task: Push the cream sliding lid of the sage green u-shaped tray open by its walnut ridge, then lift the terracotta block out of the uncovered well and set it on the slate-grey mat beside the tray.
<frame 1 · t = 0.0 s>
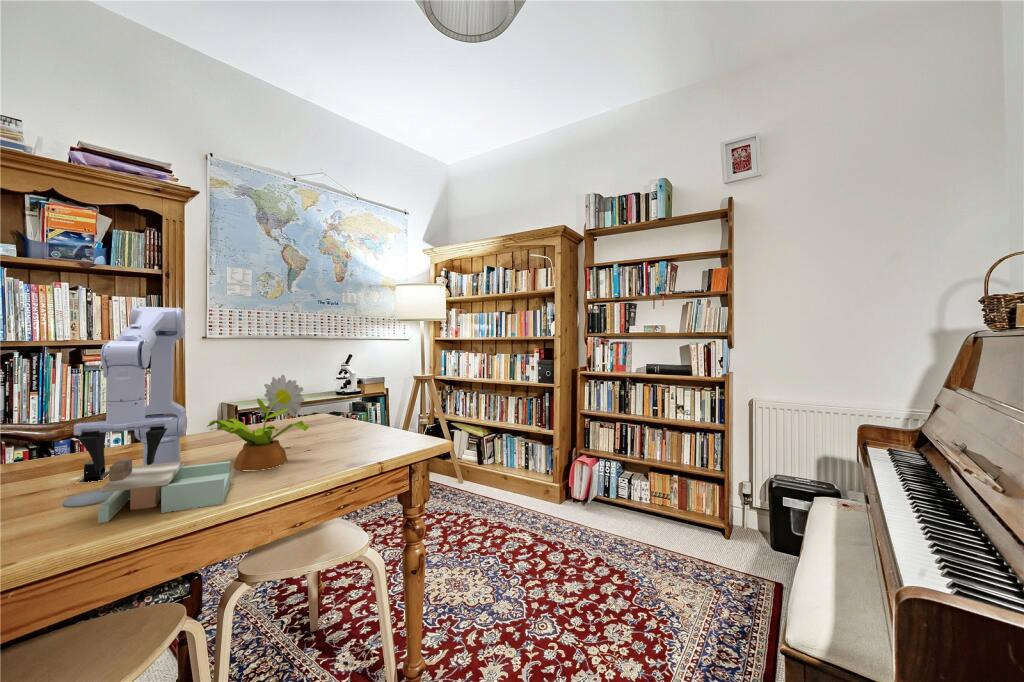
hand: (125, 466, 82), 10 cm above the table, tool pointing down, fingers open, 7 cm apart
black boxy piece: (94, 480, 103), on the table
block: (145, 504, 88), resting in sage green u-shaped tray
lid: (146, 468, 88), point 8 cm above the table, slide at 0.0 cm
decorative plant: (255, 465, 115), on the table
mat: (92, 498, 90), on the table
sage green u-shaped tray: (172, 500, 90), on the table
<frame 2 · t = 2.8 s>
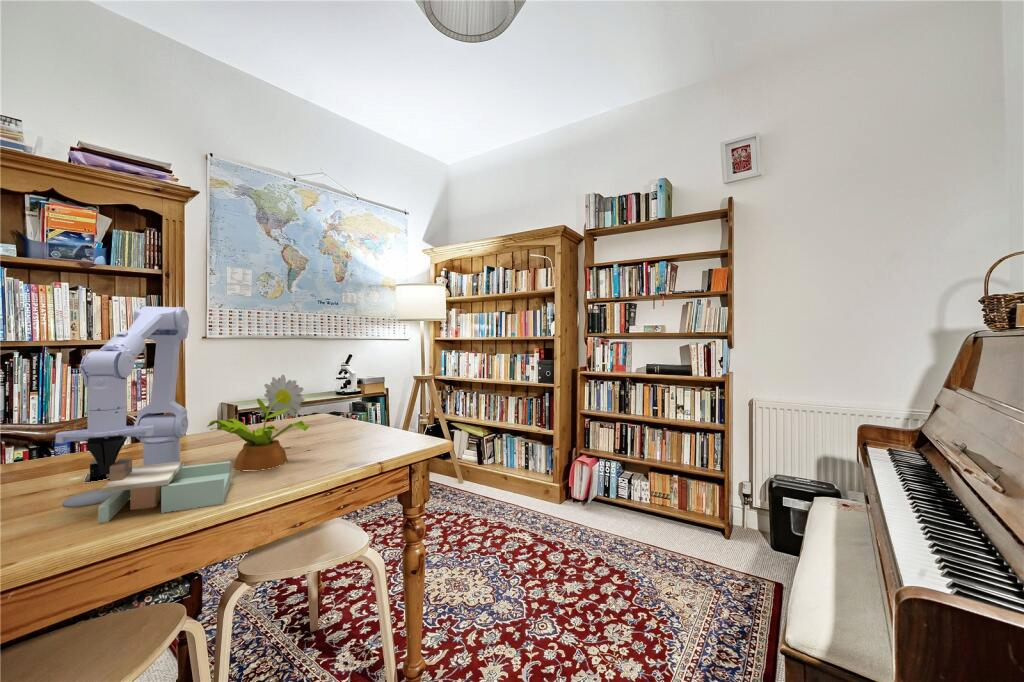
hand: (107, 473, 84), 8 cm above the table, tool pointing down, fingers closed
lid: (146, 468, 88), point 8 cm above the table, slide at 0.0 cm, touching gripper
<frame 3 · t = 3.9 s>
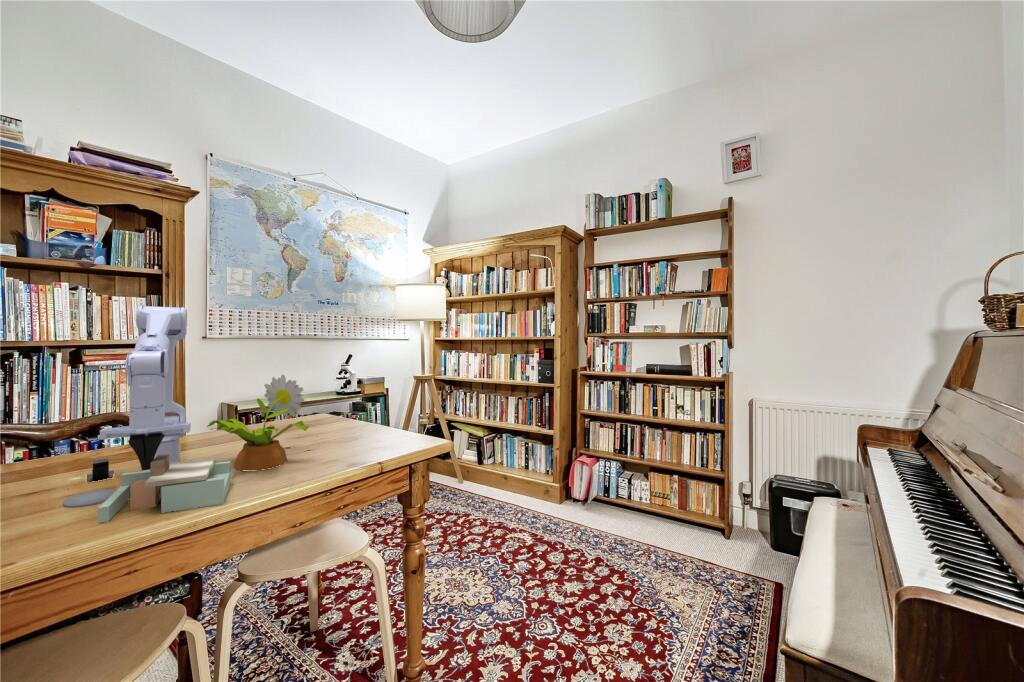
hand: (147, 468, 88), 8 cm above the table, tool pointing down, fingers closed
lid: (183, 464, 91), point 8 cm above the table, slide at 6.4 cm, touching gripper
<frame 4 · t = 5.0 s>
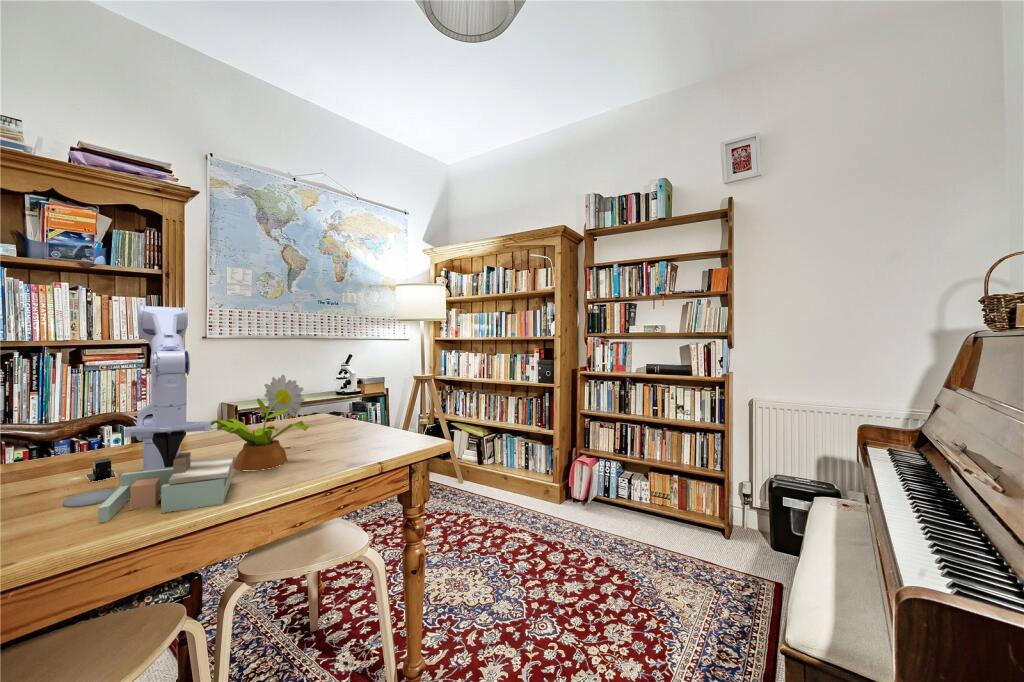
hand: (169, 466, 89), 8 cm above the table, tool pointing down, fingers closed
lid: (204, 462, 93), point 8 cm above the table, slide at 10.2 cm, touching gripper
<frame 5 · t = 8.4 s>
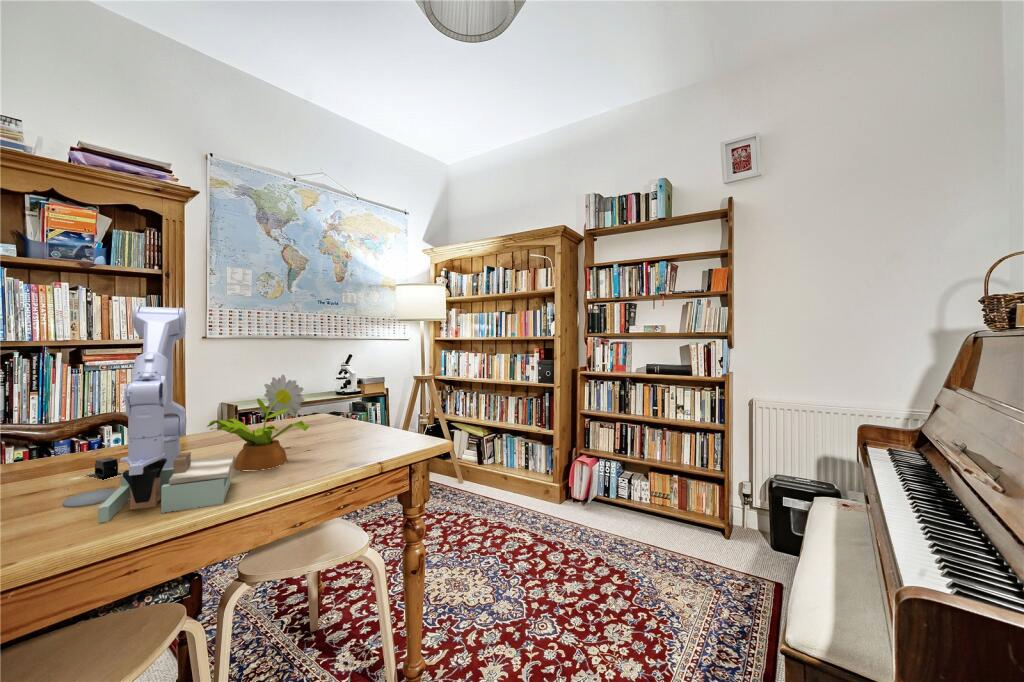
hand: (145, 498, 88), 1 cm above the table, tool pointing down, fingers closed on block, 4 cm apart
block: (145, 504, 88), resting in sage green u-shaped tray, touching gripper
lid: (204, 462, 93), point 8 cm above the table, slide at 10.2 cm
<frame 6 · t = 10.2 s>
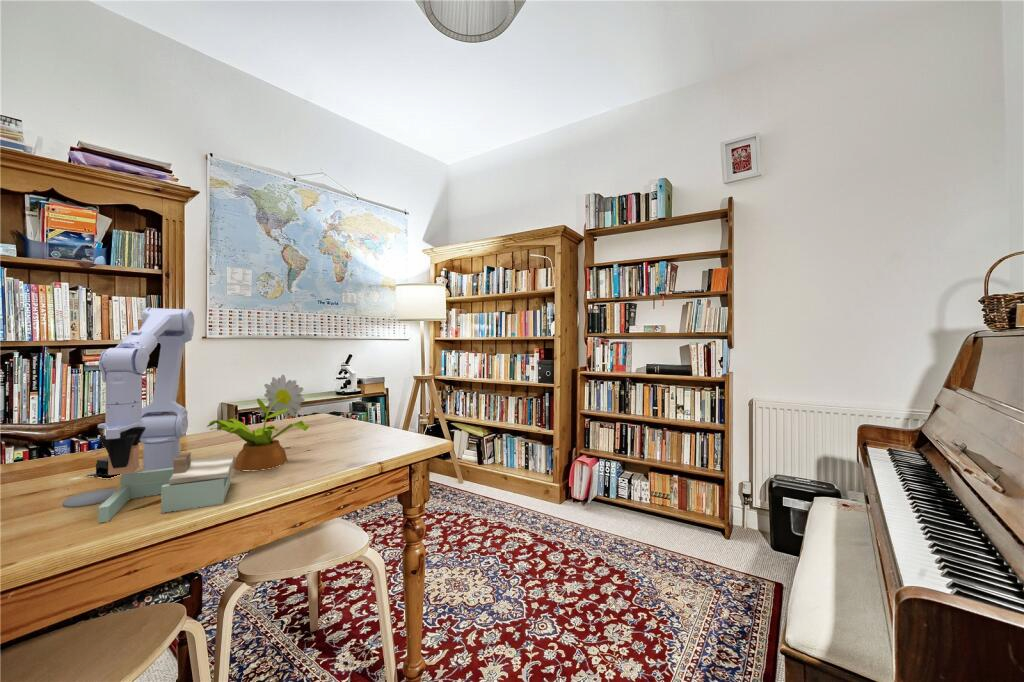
hand: (123, 464, 89), 8 cm above the table, tool pointing down, fingers closed on block, 4 cm apart
block: (123, 470, 89), point 7 cm above the table, touching gripper
when the fingers open (3 cm above the table, at t = 12.0 s): block drops 1 cm, resting on mat.
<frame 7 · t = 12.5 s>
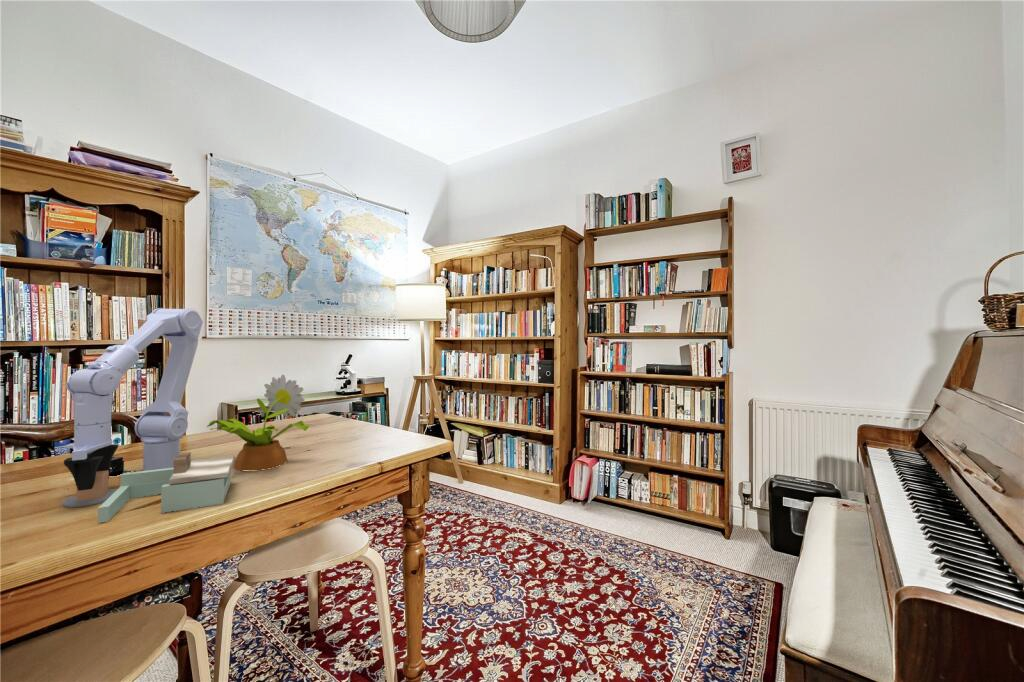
hand: (92, 483, 90), 3 cm above the table, tool pointing down, fingers open, 7 cm apart
block: (93, 496, 90), resting on mat
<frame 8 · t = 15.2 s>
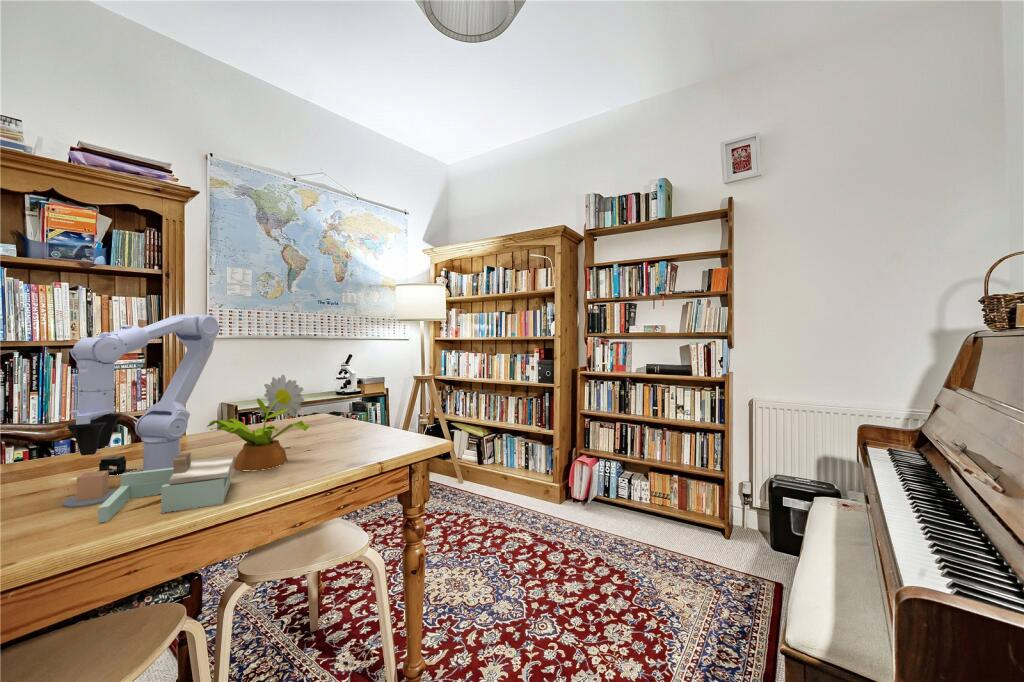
hand: (95, 450, 91), 10 cm above the table, tool pointing down, fingers open, 7 cm apart
at the end: lid slide at 10.2 cm; block 0.0 cm from the mat (horizontally); block tilted 0° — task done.
